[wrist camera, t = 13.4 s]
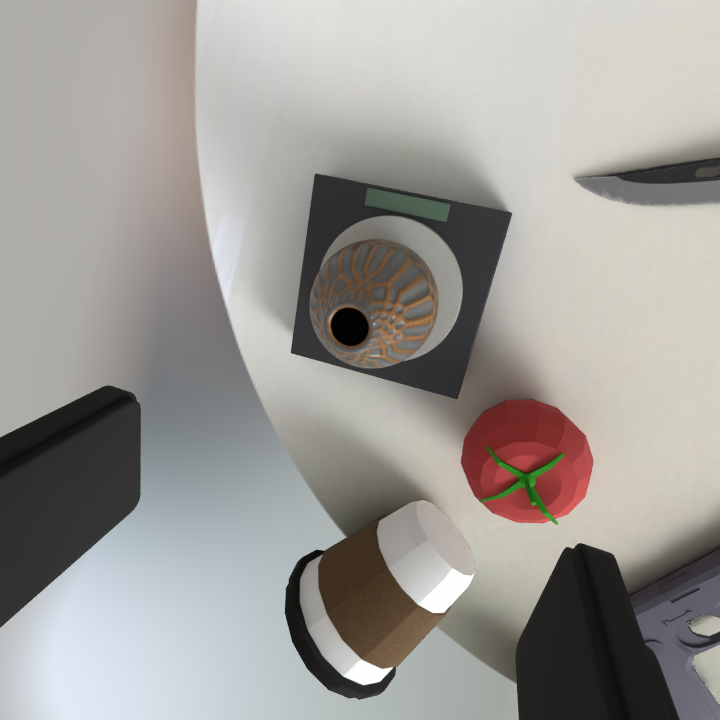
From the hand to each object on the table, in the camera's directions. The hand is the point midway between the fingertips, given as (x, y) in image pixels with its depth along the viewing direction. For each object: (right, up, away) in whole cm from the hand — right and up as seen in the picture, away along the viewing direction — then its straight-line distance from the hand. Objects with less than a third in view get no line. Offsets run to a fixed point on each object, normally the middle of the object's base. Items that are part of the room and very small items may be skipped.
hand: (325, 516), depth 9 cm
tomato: (+12, -2, +23) cm, 26 cm away
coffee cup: (+7, -9, +22) cm, 25 cm away
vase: (+3, +8, +19) cm, 20 cm away
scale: (+3, +8, +21) cm, 23 cm away
